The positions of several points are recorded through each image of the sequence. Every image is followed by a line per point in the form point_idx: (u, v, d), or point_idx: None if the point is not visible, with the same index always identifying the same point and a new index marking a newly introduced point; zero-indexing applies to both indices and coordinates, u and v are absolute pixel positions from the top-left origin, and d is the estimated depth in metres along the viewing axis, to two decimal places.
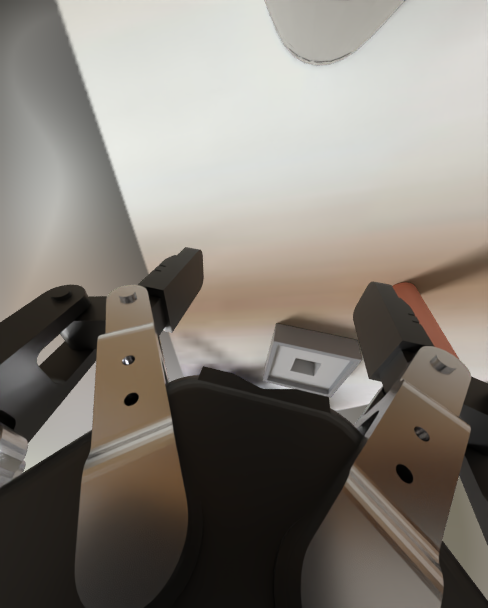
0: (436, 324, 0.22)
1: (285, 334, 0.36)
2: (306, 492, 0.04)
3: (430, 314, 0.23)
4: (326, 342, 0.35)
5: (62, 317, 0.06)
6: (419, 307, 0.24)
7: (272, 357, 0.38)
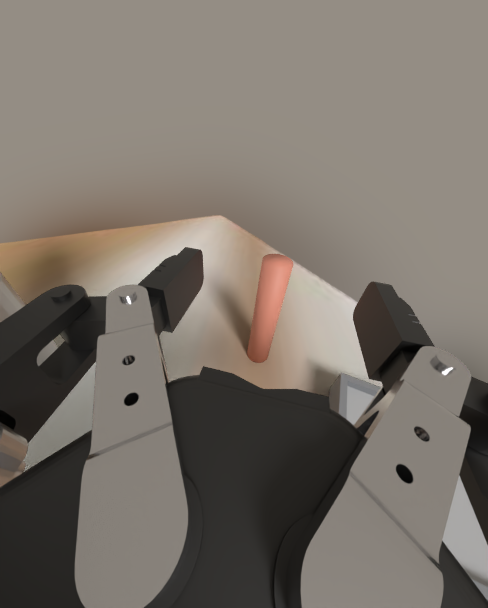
0: None
1: None
2: (306, 492, 0.04)
3: None
4: None
5: (62, 317, 0.06)
6: None
7: None
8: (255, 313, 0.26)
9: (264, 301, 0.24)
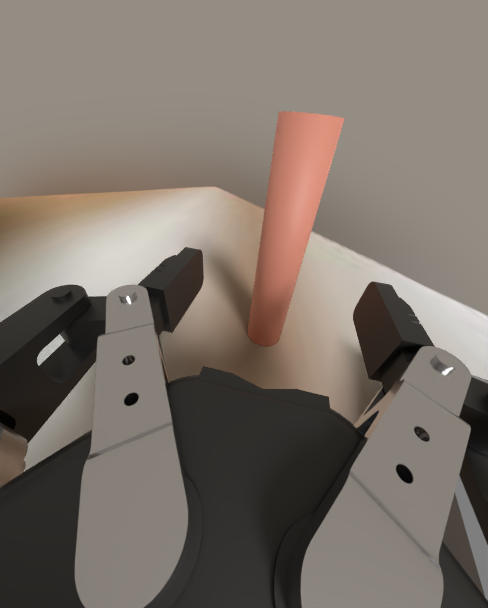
0: None
1: None
2: (306, 492, 0.04)
3: None
4: None
5: (62, 317, 0.06)
6: (253, 291, 0.18)
7: None
8: (262, 250, 0.14)
9: (281, 215, 0.12)
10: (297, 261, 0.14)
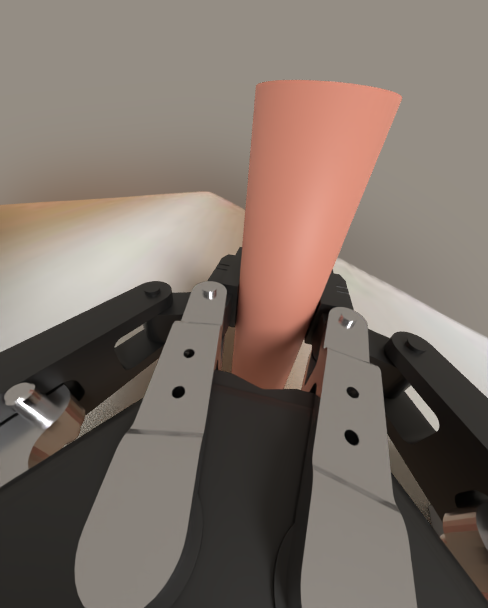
0: None
1: None
2: (281, 503, 0.03)
3: None
4: None
5: (145, 312, 0.06)
6: None
7: None
8: (240, 324, 0.09)
9: (267, 283, 0.07)
10: (296, 343, 0.09)
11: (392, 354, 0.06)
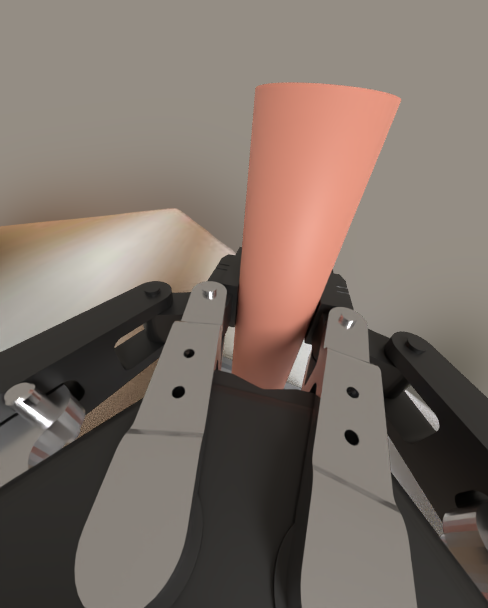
0: None
1: None
2: (281, 503, 0.03)
3: None
4: None
5: (145, 312, 0.06)
6: None
7: None
8: (240, 324, 0.09)
9: (267, 284, 0.07)
10: (296, 343, 0.09)
11: (392, 354, 0.06)
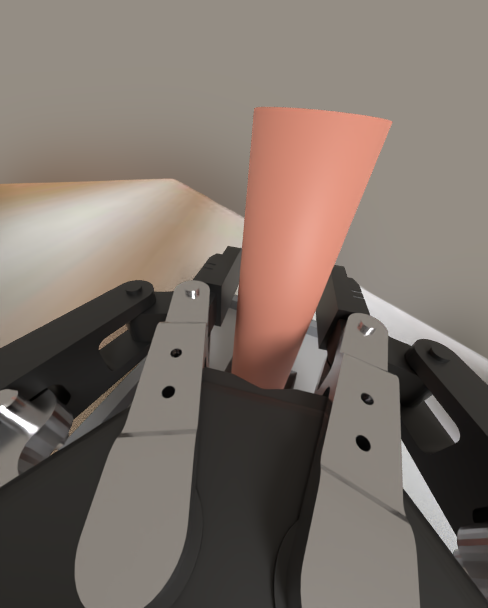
0: None
1: None
2: (286, 499, 0.03)
3: None
4: None
5: (128, 311, 0.06)
6: None
7: None
8: (239, 330, 0.09)
9: (265, 293, 0.07)
10: (294, 349, 0.09)
11: (413, 361, 0.06)
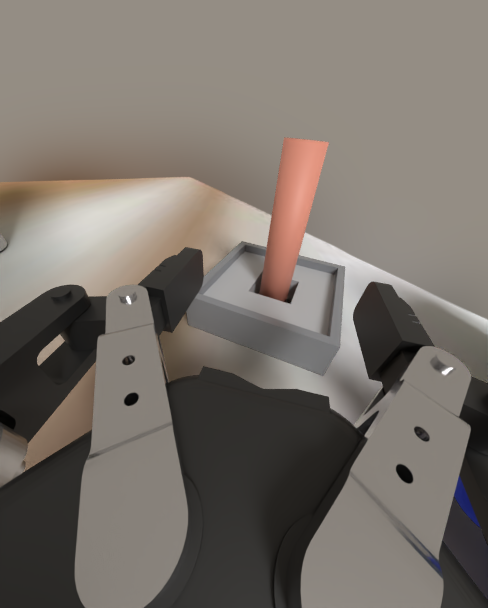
0: None
1: None
2: (306, 492, 0.04)
3: None
4: None
5: (63, 317, 0.06)
6: (263, 270, 0.23)
7: (232, 306, 0.19)
8: (271, 235, 0.19)
9: (286, 208, 0.17)
10: (297, 243, 0.19)
11: None
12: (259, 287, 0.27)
